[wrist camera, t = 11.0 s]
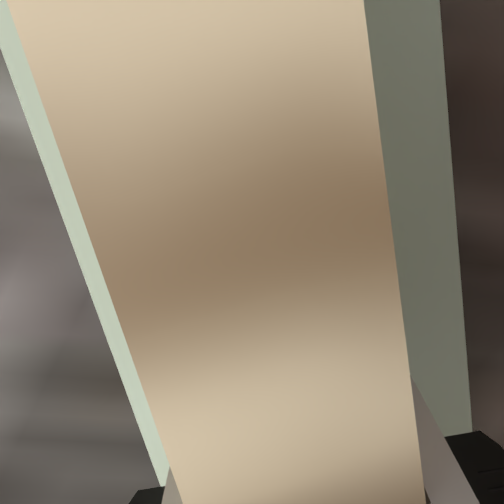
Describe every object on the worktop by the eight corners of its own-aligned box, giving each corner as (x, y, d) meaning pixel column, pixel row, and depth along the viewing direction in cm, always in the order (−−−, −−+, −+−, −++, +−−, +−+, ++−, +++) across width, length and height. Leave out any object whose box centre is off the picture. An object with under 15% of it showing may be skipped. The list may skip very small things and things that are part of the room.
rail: (30, -215, 8) (-164, -482, 4) (266, -282, 8) (284, -630, 4) (316, 749, 17) (335, 936, 13) (426, 733, 17) (478, 919, 13)
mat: (-87, -228, 10) (-107, -246, 9) (398, -372, 9) (408, -402, 9) (248, 709, 20) (248, 727, 20) (486, 677, 20) (492, 695, 19)
